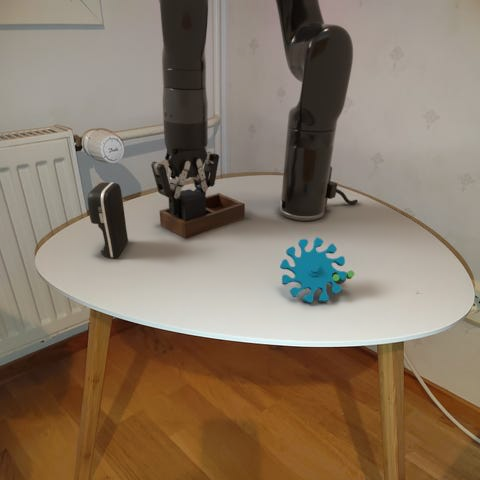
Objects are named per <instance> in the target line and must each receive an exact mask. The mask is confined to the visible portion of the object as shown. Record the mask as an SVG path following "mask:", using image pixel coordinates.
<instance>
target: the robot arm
mask: <svg viewBox="0 0 480 480" xmlns="http://www.w3.org/2000/svg"><path fill="white" fill-rule="evenodd" d="M158 3H159V9H160V11H159V12H160V22H161V35H162V50H161V51H162V53H161V72H162V73H161V75H162V119H163V136H164V137H163V139H164V146H165V148H166V153H165V156H164V159H163V160H160V161H159V162H158V161H152V162H151V165H150V166H151V170H152V173H153V177H154V181H155V185H156V188H157V191H158V194H160V195H161V196H164V197H166V198H168V199H167V200H168V208H169V211H170V213H171V214H172V215H173V216H175V217H180V216H181V202H180V198H179V197H180V193H181V191H182V188H183V187H185V184H186V180H188V179H190V178H191V180H192V182H193V185H194V188H195V189H194V190H193V191H195V192H197V193H200V194H202V195H204V196H206V195H207V193H206V192H207V191H208V188H210V187H214V186H215V184H216V179H217V173H218V168H219V167H218V166H219V161H220V155H219V154H218V153H215V152H212V151H207V149H206V147H208V145H209V144H208V143H209V141H208V137H209V135H208V134H209V133H208V132H209V131H208V129H209V128H208V127H209V125H208V124H209V121H208V119H209V116H208V115H209V114H208V113H209V108H208V107H209V105H208V102H209V101H208V95H207V58H206V57H207V56H206V44H207V34H208V21H209V0H158ZM275 4H276V9H277V15H278V20H279V27H280V32H281V37H282V43H283V50H284V56H285V60H286V63H287V64H286V65H287V67H288V69H289V71H290V74H291V75H292V76H293V77H294V78H295V79H296V80H297V81H299V82H300V83H301V87H300V94H299V100H298V102H297V104H296V105H295V106H293V107H291V108H290V109H289V111H288V115H287V116H288V117H287V130H286V140H285V151H284V152H285V153H284V164H283V175H282V177H283V178H282V185H281V186H282V188H281V197H280V198H279V213H280V214H281V215H282V216H283V217H285V218H287V219H291V220H295V221H300V222H301V221H302V222H310V221H311V222H312V221H316V220H320V219H322V218H323V217H324V214H325V213H326V212H327V205H328V201H329V200H332V199H334V198H336V194H338V195H340V196H341V198H342V199H343V201H344V202H345V203H346V204H348V205H354V204H357V203H358V202H359V201H358V199H353V200H350V199H348V197H347V195H346V194H345V193H344V192H343V191H342V190H341V189H339V188H338V182H335V181H332V180H331V179H332V174H333V167H332V159H333V152H334V145H335V140H336V139H335V138H336V132H337V125H338V121H339V118H340V116H341V114H342V113H343V111H344V107H345V104H346V98H347V94H348V90H349V84H350V79H351V73H352V68H353V61H354V46H353V45H354V44H353V41H352V40H353V39H352V37H351V35H350V33H349V32H348V30H347V29H346V28H344V27H343V26H341V25H338V24H334V23H332V24H331V23H325V21H324V17H323V14H322V10H321V6H320V2H319V0H275ZM177 178H178V179H177ZM206 197H207V196H206Z"/></svg>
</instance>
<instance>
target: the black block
mask: <svg viewBox="0 0 480 480" xmlns="http://www.w3.org/2000/svg"><path fill="white" fill-rule="evenodd" d="M206 197H207V196H204V195H202V194H200V193H197V192H195V191H194V190H193V189H190V188H189V189H185V190H181V193H180V197H179V198H180V202H181V216H180V217H178V218H180V219H182V220H184V221H185V222H186V221H189V220H192V219H195V218H198V217H201V216H204V215H206ZM170 214H171V213H170Z"/></svg>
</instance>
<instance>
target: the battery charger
mask: <svg viewBox="0 0 480 480" xmlns="http://www.w3.org/2000/svg"><path fill="white" fill-rule="evenodd" d="M87 207H88V214H89V219H90V223H91V224H94V225H97V227H98V228H99V229H100V230H101V232H102V237H103V241H104V246H103V247H102V249H101V250H100V254H101V256H103V257H107V258H114V259H115V258H117V257H118V256H119V255H120V254H121V252H122V251H123V250H124V248H125V247H126V245H127V244H128V242H129V237H128V230H127V223H126V222H127V221H126V215H125V207H124V201H123V194H122V189H121V186H120V184H119V183H117V182H115V181H114V182H106V181H105V182H104V181H103V182H100V183H98V184H97V185H95V186H94V187H93V188H92V189H91V190H90V191H89V192H88V195H87Z"/></svg>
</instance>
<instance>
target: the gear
mask: <svg viewBox="0 0 480 480" xmlns="http://www.w3.org/2000/svg"><path fill="white" fill-rule="evenodd" d="M308 244H309V239H307V238H303V239H301V238H300V239H299V240H298V247H299V248H300V256H299V257H298V256H296V247H295V246H294V245H293V246H290V247H288V248H287V249H286V250H285V254H286V255H287V256H289V257H290V258H291V259H292V260H293V262H294V265H293V266H292V265H290V263H289V261H288V259H285V258H284V259H282V261H281V263H280V264H279V265H280V266H279V268H280V269H281V270H288V271H289V272H291V273H292V274H293V275H294V277H291V276H290V275H288V274H282V277H281V283H282V284H283V285H288V284H290V283H298V284H299V285H300V287H295V286H293V287H292V288H290V290H289V294H290V295H291V296H292V297H293V298H296V297H298V295H299V293H300V292H301V291H303V290H305V289H306V290H307V289H308V290H310V292H309V293H308V294H305V295H304V297H303V298H302V299H303V301H304V302H305V303H308V304H311V303H312V302H313V301H314V294H315V292H316V290H321V294H320V295H319V296H318V301H319V302H324V303H325V302H328V301H329V300H330V296H329V295H328V293H327V284H330V285H331V293H332V294H333V295H337V294H338V293H340V291H342V286H341V285H343V284H344V283H345V282H346V281H347V280H351V279H352V278H353V277H354V276H355V271H354V270H352V269H351V270H349V271H347V272H346V271H344V270H338V269H336V268H335V267H334V266H333V264H336V265H337V266H338V267H343V266H344V265H345V264H346V259H345V256H343V255H341V256H339V257H336V258H331V257H327V254H331V255H333V254H335V253H336V252H337V251H338V247H336V245H335V244H334V243H329V245H328V246H327V248H326V249H325V250H323V251H318V250H317V248H320V247H322V245H323V244H324V240H323V239H322V238H321V237H315V239H314V240H313V247H312V248H311V250H310V251H306V247H307V246H308Z"/></svg>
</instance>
